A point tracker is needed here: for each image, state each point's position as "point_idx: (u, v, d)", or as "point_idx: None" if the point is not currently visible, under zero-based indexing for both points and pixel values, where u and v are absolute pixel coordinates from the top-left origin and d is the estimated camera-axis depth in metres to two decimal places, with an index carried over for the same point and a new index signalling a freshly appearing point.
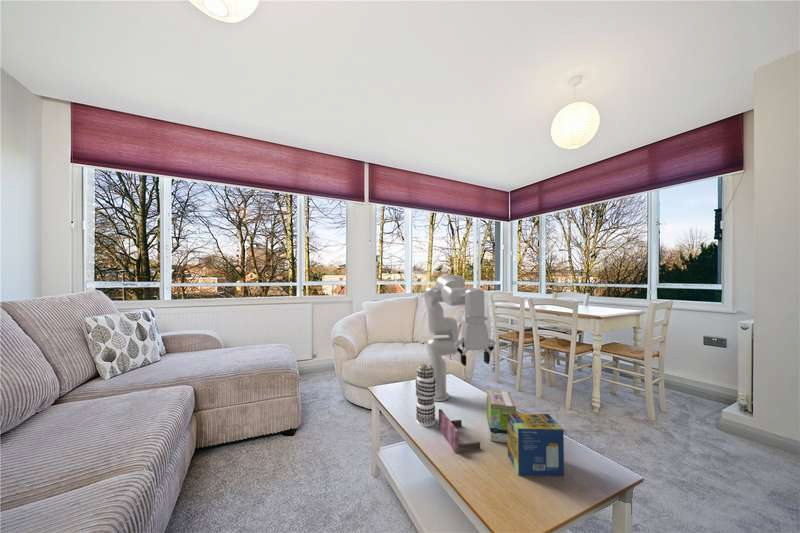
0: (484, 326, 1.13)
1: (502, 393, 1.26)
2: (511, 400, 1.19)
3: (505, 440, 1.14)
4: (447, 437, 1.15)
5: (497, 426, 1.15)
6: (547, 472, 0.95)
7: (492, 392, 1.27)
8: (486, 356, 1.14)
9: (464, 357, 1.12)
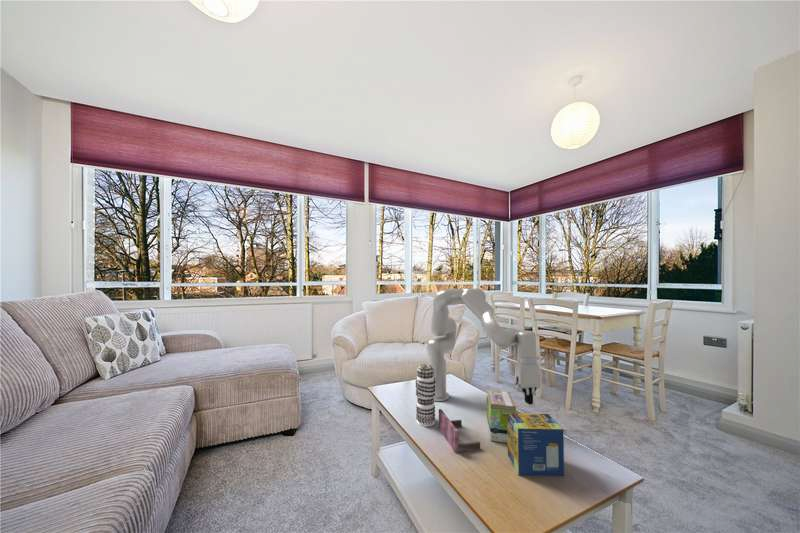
0: (537, 366, 1.23)
1: (502, 393, 1.26)
2: (511, 400, 1.19)
3: (505, 440, 1.14)
4: (447, 437, 1.15)
5: (497, 426, 1.15)
6: (547, 472, 0.95)
7: (492, 392, 1.27)
8: None
9: (529, 397, 1.23)
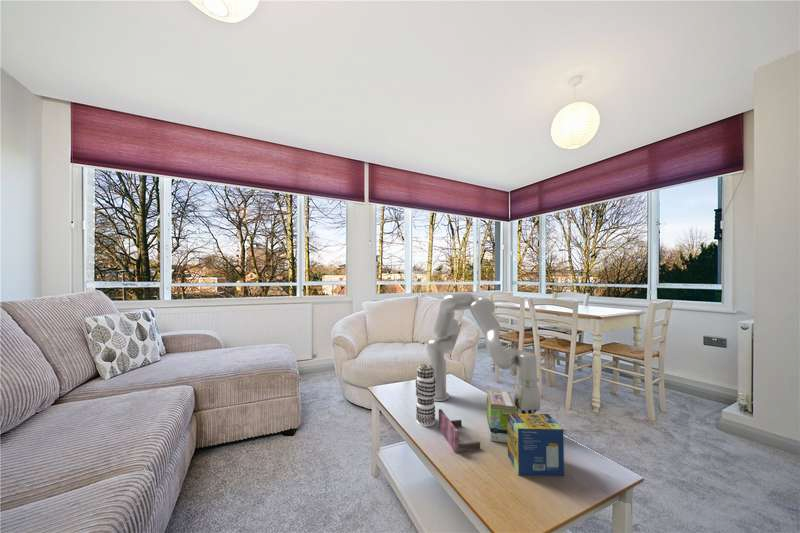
0: (536, 388, 1.23)
1: (502, 393, 1.26)
2: (511, 400, 1.19)
3: (505, 440, 1.14)
4: (447, 437, 1.15)
5: (497, 426, 1.15)
6: (547, 472, 0.95)
7: (492, 392, 1.27)
8: None
9: None
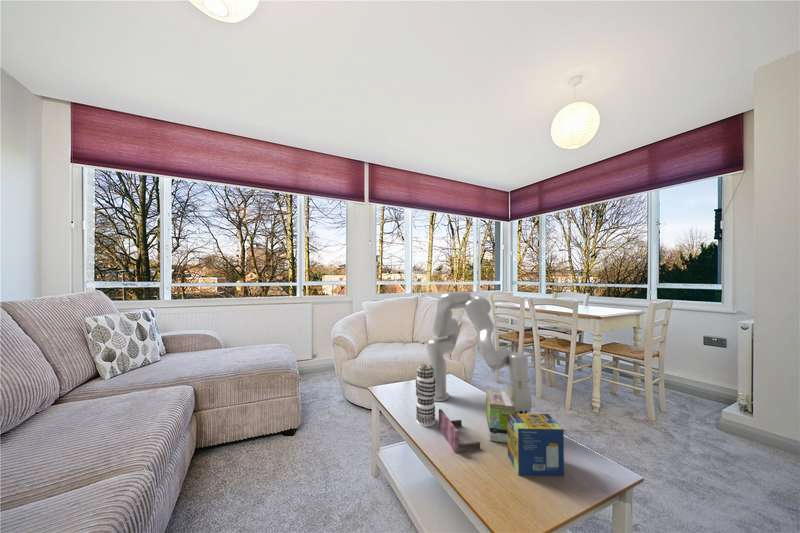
0: (528, 389, 1.22)
1: (501, 393, 1.26)
2: (510, 399, 1.19)
3: (504, 440, 1.14)
4: (447, 437, 1.15)
5: (497, 426, 1.14)
6: (547, 472, 0.95)
7: (491, 392, 1.27)
8: None
9: None
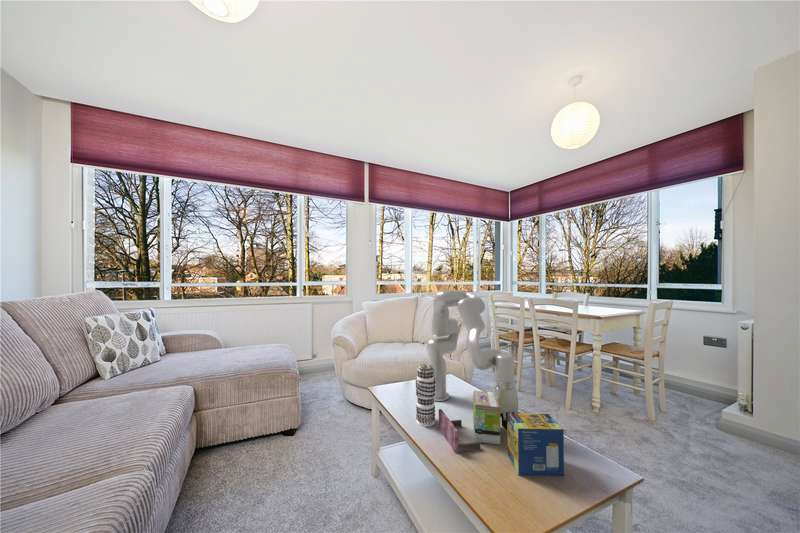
0: (514, 390, 1.21)
1: (488, 394, 1.25)
2: (496, 400, 1.19)
3: (489, 441, 1.13)
4: (447, 437, 1.15)
5: (482, 427, 1.14)
6: (547, 472, 0.95)
7: (478, 393, 1.26)
8: None
9: (505, 422, 1.20)
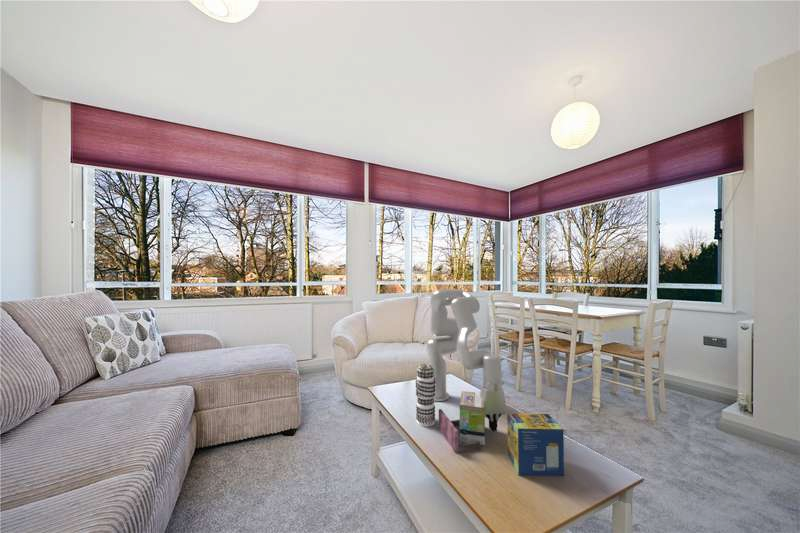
0: (501, 391, 1.19)
1: (475, 394, 1.24)
2: (482, 401, 1.18)
3: (474, 441, 1.13)
4: (447, 437, 1.15)
5: (466, 427, 1.14)
6: (547, 472, 0.95)
7: (466, 393, 1.26)
8: None
9: (492, 423, 1.19)
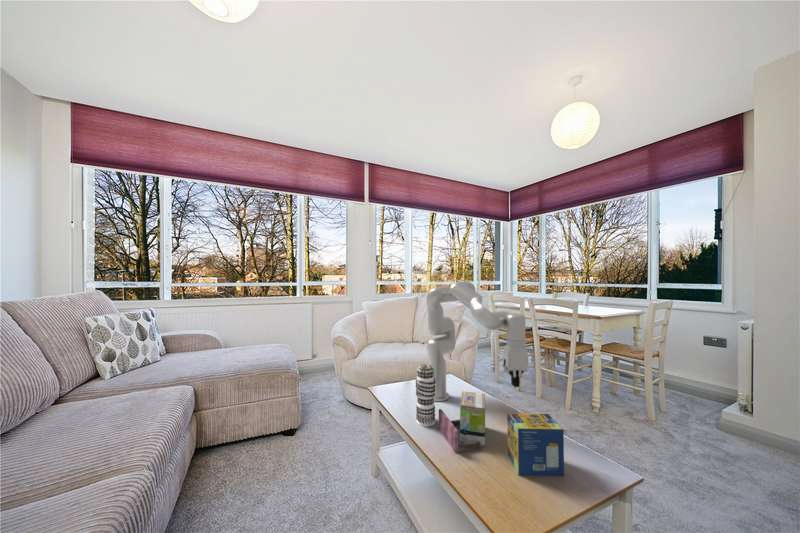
0: (525, 349, 1.22)
1: (476, 394, 1.24)
2: (482, 401, 1.18)
3: None
4: (447, 437, 1.15)
5: (467, 427, 1.14)
6: (547, 472, 0.95)
7: (466, 393, 1.26)
8: None
9: (515, 379, 1.22)
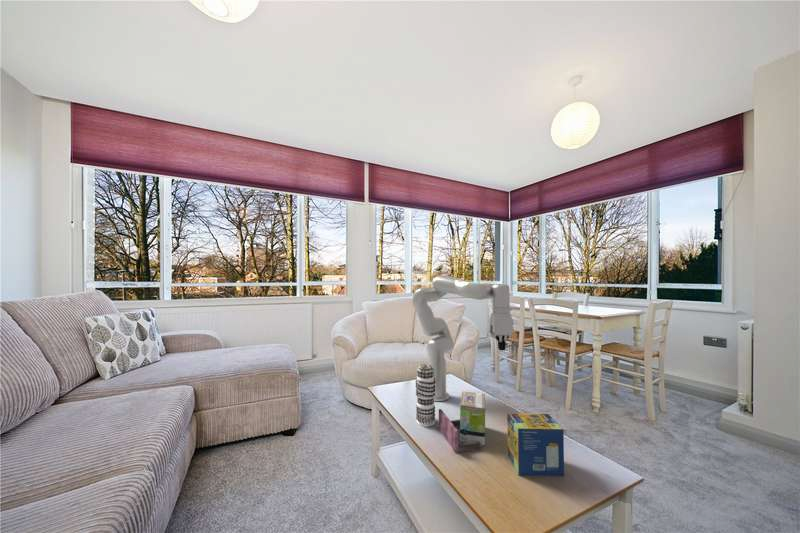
0: (509, 315, 1.34)
1: (476, 394, 1.24)
2: (482, 401, 1.18)
3: None
4: (447, 437, 1.15)
5: (467, 427, 1.14)
6: (547, 472, 0.95)
7: (466, 393, 1.26)
8: None
9: (501, 343, 1.34)
